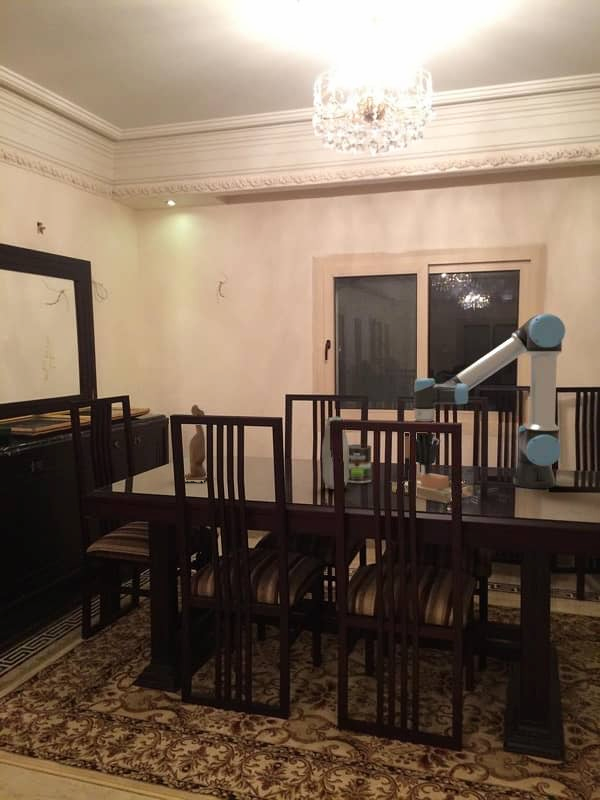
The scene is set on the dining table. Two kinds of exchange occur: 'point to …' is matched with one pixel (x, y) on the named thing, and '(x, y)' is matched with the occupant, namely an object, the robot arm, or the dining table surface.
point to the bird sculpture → (197, 451)
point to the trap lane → (436, 491)
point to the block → (435, 481)
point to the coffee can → (359, 464)
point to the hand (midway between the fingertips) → (424, 481)
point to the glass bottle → (328, 459)
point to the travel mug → (406, 454)
